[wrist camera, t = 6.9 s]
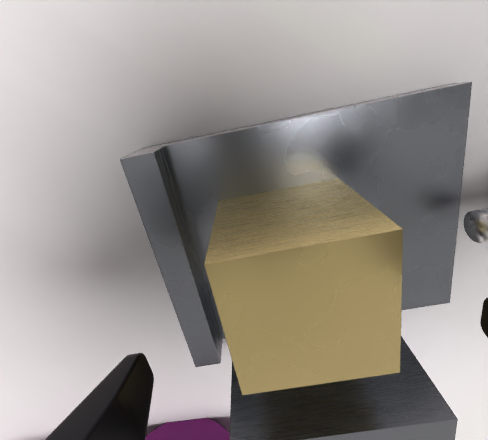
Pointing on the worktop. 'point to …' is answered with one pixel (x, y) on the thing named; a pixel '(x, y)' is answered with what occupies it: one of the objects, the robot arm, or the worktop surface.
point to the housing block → (306, 286)
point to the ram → (477, 225)
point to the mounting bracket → (190, 431)
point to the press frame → (305, 172)
